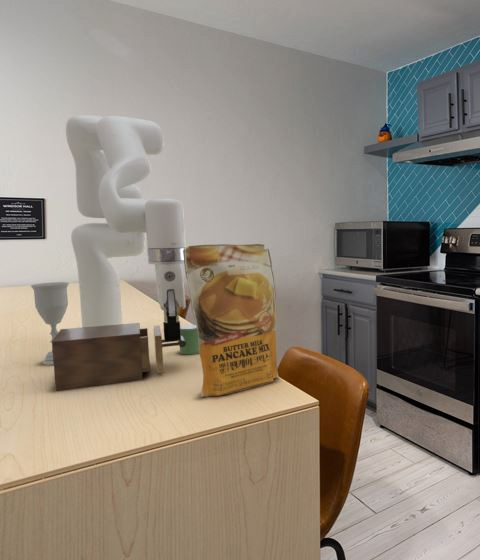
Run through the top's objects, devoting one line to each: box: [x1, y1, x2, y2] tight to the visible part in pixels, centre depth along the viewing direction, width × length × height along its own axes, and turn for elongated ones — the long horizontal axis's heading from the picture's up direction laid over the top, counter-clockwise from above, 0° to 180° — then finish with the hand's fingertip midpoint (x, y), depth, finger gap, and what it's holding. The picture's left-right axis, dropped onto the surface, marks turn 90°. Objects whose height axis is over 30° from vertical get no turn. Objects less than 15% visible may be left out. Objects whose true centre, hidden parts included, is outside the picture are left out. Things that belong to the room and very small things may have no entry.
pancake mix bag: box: [183, 243, 280, 398], centre depth 98 cm, size 7×19×28 cm, turn 138°
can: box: [178, 324, 199, 355], centre depth 126 cm, size 5×5×6 cm
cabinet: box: [51, 322, 143, 391], centre depth 105 cm, size 15×13×10 cm
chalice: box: [30, 281, 70, 366], centre depth 116 cm, size 7×7×18 cm
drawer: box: [140, 325, 186, 373], centre depth 109 cm, size 18×11×8 cm, turn 119°
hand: (172, 339), depth 111 cm, fingers closed
